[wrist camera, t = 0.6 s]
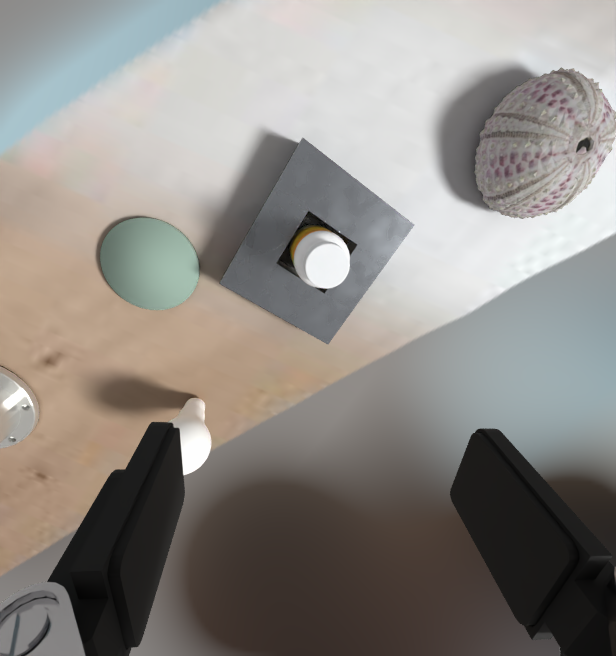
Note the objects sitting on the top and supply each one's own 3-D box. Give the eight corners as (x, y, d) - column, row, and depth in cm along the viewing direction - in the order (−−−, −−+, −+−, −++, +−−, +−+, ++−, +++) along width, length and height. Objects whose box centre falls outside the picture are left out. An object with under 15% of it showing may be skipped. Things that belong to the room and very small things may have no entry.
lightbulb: (190, 427, 44) (168, 497, 34) (162, 395, 42) (129, 460, 32) (228, 408, 44) (218, 472, 34) (202, 374, 41) (182, 433, 31)
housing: (323, 332, 41) (327, 344, 38) (223, 275, 37) (219, 283, 33) (401, 222, 37) (414, 224, 34) (299, 142, 32) (302, 137, 29)
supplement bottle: (279, 249, 36) (283, 268, 27) (312, 213, 35) (327, 220, 26) (312, 281, 38) (327, 308, 29) (345, 247, 37) (370, 265, 28)
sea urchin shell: (562, 50, 32) (650, 8, 25) (588, 176, 37) (666, 172, 30) (445, 130, 34) (494, 113, 26) (485, 240, 39) (536, 252, 32)
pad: (175, 323, 38) (174, 325, 38) (88, 279, 35) (85, 281, 34) (215, 251, 35) (214, 252, 35) (124, 197, 32) (122, 197, 32)
